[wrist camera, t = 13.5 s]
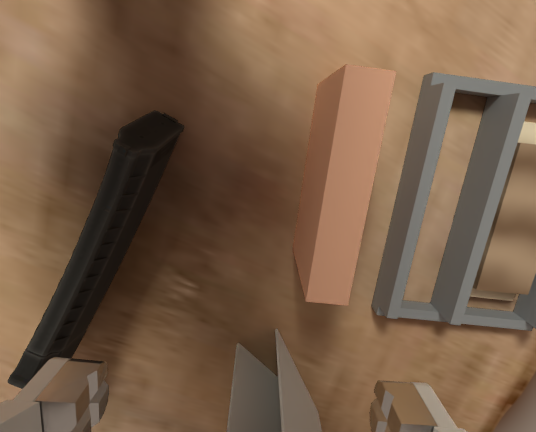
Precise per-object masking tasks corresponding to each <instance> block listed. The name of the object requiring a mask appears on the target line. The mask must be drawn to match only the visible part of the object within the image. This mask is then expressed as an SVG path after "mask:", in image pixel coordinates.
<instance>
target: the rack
mask: <svg viewBox="0 0 536 432" xmlns="http://www.w3.org/2000/svg"><path fill="white" fill-rule="evenodd" d="M455 93H463V94H470V95H477V96H485V97H487V101H486V104H485V108H484V112H483V115H482V119H481V122H480V126H479V130H478V133H477V137H476V140H475V144H474V148H473V151H472V155H471V158H470V162H469V166H468V169H467V173H466V176H465V180H464V183H463V187H462V191H461V194H460V198H459V201H458V205H457V209H456V212H455V216H454V219H453V223H452V227H451V230H450V234H449V237H448V241H447V245H446V248H445V252H444V255H443V259H442V263H441V266H440V270H439V273H438V277H437V280H436V284H435V288H434V291H433V295H432V298H431V302H430V303H424V302H414V301H405V300H402V299H403V295H404V292H405V288H406V284H407V280H408V276H409V272H410V268H411V264H412V260H413V256H414V252H415V248H416V244H417V240H418V236H419V232H420V228H421V224H422V221H423V217H424V213H425V209H426V205H427V201H428V197H429V193H430V189H431V185H432V181H433V177H434V173H435V169H436V165H437V161H438V157H439V153H440V150H441V146H442V142H443V138H444V134H445V130H446V126H447V122H448V118H449V114H450V110H451V106H452V102H453V98H454V94H455ZM530 103H536V87H535V86H528V85H521V84H513V83H506V82H499V81H492V80H485V79H477V78H470V77H463V76H456V75H449V74H442V73H434V72H433V73H430V74H427V75H424V77H423V82H422V86H421V91H420V95H419V99H418V104H417V108H416V113H415V117H414V121H413V126H412V130H411V135H410V139H409V143H408V148H407V152H406V156H405V161H404V165H403V170H402V174H401V178H400V183H399V187H398V192H397V196H396V200H395V205H394V209H393V213H392V218H391V222H390V227H389V231H388V235H387V240H386V244H385V249H384V253H383V257H382V262H381V266H380V271H379V275H378V279H377V284H376V288H375V292H374V297H373V301H372V308H373V310H374V311H375V313H376V314H377V315H382V316H386V318H393V319H398V317H401V318H411V319H421V320H431V321H441V322H448V323H449V324H452V325H461V324H470V325H480V326H490V327H500V328H509V329H519V330H529V331H532V329H533V327H534V328H536V274H535V277H534V279H533V282H532V285H531V288H530V291H529V294H528V295H526V294H519V297H518V300H517V302H516V305H515V308H514V311H513V312H510V311H501V310H491V309H481V308H472V307H467V304H468V300H469V297H470V294H471V291H472V287H473V284H474V281H475V278H476V275H477V271H478V268H479V265H480V262H481V259H482V255H483V252H484V249H485V246H486V242H487V239H488V236H489V233H490V230H491V226H492V223H493V220H494V217H495V213H496V210H497V207H498V204H499V201H500V197H501V194H502V191H503V188H504V185H505V181H506V178H507V175H508V172H509V168H510V165H511V162H512V159H513V156H514V152H515V149H516V146H517V143H518V139H519V136H520V133H521V130H522V127H523V123H524V120H525V117H526V114H527V111H528V107H529V104H530Z"/></svg>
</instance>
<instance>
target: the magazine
mask: <svg viewBox="0 0 536 432" xmlns="http://www.w3.org/2000/svg"><path fill="white" fill-rule="evenodd" d="M183 129H184V126H183V125H182V124H180V123H178V121H177V120H176V119H174V118H172V117H170V116H168V115H167V114H165V113H164V114H162V113H160V112H158V111H155V110H154V111H152V112H151V113H149V114H147V115H145V116H143V117H141V118H139V119H137V120H135V121H133V122H132V123H130V124H128V125H126V126H124V127H122V128H121V129H120V131H119V134H118V139H116V140H114V143H113V151H112V154H111V157H110V160H109V163H108V166H107V169H106V172H105V175H104V178H103V181H102V183H101V186H100V189H99V192H98V194H97V197H96V199H95V201H94V204H93V207H92V209H91V211H90V214H89V216H88V218H87V220H86V223H85V226H84V228H83V231H82V233H81V235H80V237H79V240H78V243H77V245H76V247H75V249H74V251H73V254H72V257H71V259H70V261H69V263H68V265H67V267H66V269H65V272H64V274H63V277H62V278H61V280H60V282H59V284H58V287H57V289H56V292H55V294H54V295H53V297H52V299H51V301H50V304H49V306H48V308H47V310H46V311H45V313H44V315H43V317H42V320H41V322H40V324H39V325H38V327H37V329H36V331H35V333H34V335H33V338H32V339H31V341H30V343H29V344H28V346H27V348H26V349H25V351H24V353H23V356H22V358H21V360H20V362H19V363H18V365H17V367H16V369H15V370H14V372H13V373H12V374H11V375H10V377H9V379H8V383H9V384H11V385H14V386H15V387H19V388H21V389H23V388H24V387H25V386H26V385H27V384H28V382H29V381H30V380H31V379H32V378H33V377H34V376H35V375H36V374H37V372H38V371H39V370H40V369H41V368H42V367H43V366H44V365H45V364H46V362H47V361H48V360H49V359H52V358H54V357H57V358H68V359H71V358H72V356H73V354H74V352H75V351H76V349H77V347H78V345H79V343H80V341H81V340H82V338H83V336H84V334H85V332H86V329H87V328H88V326H89V324H90V322H91V320H92V318H93V316H94V314H95V312H96V310H97V309H98V307H99V305H100V303H101V301H102V299H103V297H104V295H105V293H106V291H107V289H108V287H109V285H110V284H111V282H112V280H113V278H114V276H115V274H116V272H117V270H118V268H119V266H120V264H121V262H122V260H123V258H124V256H125V254H126V251H127V249H128V247H129V245H130V243H131V241H132V239H133V237H134V235H135V233H136V231H137V228H138V226H139V224H140V222H141V220H142V218H143V216H144V213H145V211H146V209H147V207H148V205H149V203H150V200H151V198H152V196H153V194H154V192H155V189H156V187H157V185H158V183H159V180H160V178H161V176H162V174H163V171H164V169H165V167H166V165H167V162H168V160H169V158H170V155H171V153H172V151H173V149H174V146H175V144H176V142H177V140H178V137H179V135H180V133H181V132H182V131H183Z"/></svg>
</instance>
